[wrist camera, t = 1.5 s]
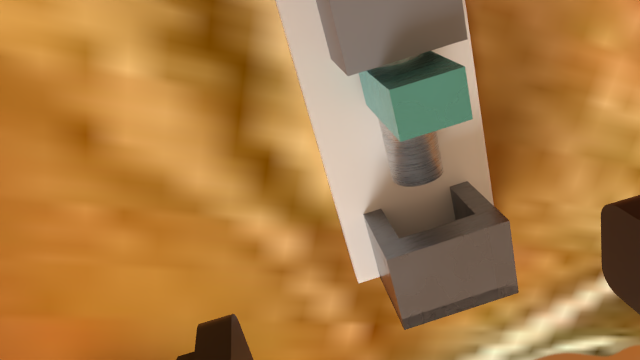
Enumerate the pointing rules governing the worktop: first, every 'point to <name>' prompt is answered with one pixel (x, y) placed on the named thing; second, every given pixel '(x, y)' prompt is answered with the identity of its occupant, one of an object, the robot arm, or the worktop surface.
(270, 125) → the worktop surface
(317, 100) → the board
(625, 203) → the robot arm
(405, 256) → the socket
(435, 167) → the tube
